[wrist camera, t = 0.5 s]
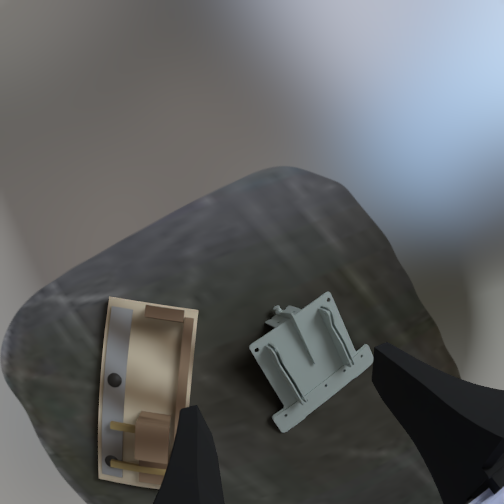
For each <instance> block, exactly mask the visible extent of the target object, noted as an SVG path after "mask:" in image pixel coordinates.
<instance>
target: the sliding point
mask: <svg viewBox="0 0 504 504" xmlns="http://www.w3.org/2000/svg"><path fill="white" fill-rule="evenodd" d="M170 419H171V415H166V414H159V413H152V412H145V411H141V413H140V415H139V417H138V419H137V421H136V425H132V424H126V423H121V422H115V421H111V422H110V429H114V430H119V431H124V432H130V433H135V457H134V459H136V460H142V461H149V462H156V463H163V464H167V462H168V451H169V435H170Z"/></svg>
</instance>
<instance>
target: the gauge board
mask: <svg viewBox="0 0 504 504" xmlns="http://www.w3.org/2000/svg"><path fill="white" fill-rule="evenodd" d="M197 319H198V310H194V309H187V308H179V307H172V306H166V305H159V304H152V303H146V302H139V301H133V300H127V299H121V298H115V297H110V296H109V303H108V310H107V318H106V326H105V334H104V343H103V353H102V364H101V377H100V393H99V417H98V471H99V479H103V480H108V481H112V482H117V483H123V484H128V485H134V486H140V487H146V488H153V489H160V486H161V483H162V481H163V478H164V475H165V472H166V469H167V466H168V463H169V459H170V456H171V452H172V448H173V444H174V440H175V436H176V431H177V426H178V420H179V413H180V410H181V409H182V408H186V407H189V400H190V389H191V378H192V367H193V357H194V347H195V337H196V328H197ZM141 411H145V412H152V413H159V414H166V415H171V419H170V435H169V451H168V462H167V464H163V463H156V462H149V461H142V460H136V459H134V457H135V433H130V432H124V431H119V430H114V429H110V422H111V421H115V422H121V423H126V424H132V425H136V421H137V419H138V417H139V415H140V413H141Z"/></svg>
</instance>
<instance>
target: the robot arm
mask: <svg viewBox="0 0 504 504" xmlns="http://www.w3.org/2000/svg"><path fill="white" fill-rule="evenodd" d="M372 382H373V384H374V386H375V388H376V389H377V391H378V393H379V395H380V396H381V398H382V400H383V401H384V403H385V404H386V405H387V407H388V408H389V409H390V411H391V412H392V413H393V415H394V416H395V417H396V419H397V420H398V421H399V423H400V424H401V425H402V426H403V428H404V429H405V430H406V432H407V433H408V434H409V436H410V437H411V439H412V440H413V442H414V443H415V445H416V447H417V449H418V450H419V452H420V454H421V456H422V457H423V459H424V461H425V463H426V465H427V467H428V469H429V471H430V473H431V475H432V477H433V479H434V482H435V484H436V486H437V488H438V491H439V493H440V496H441V498H442V501H443V503H444V504H504V390H498V389H493V388H489V387H484V386H480V385H476V384H473V383H470V382H467V381H464V380H462V379H459V378H456V377H454V376H451V375H449V374H447V373H444V372H442V371H440V370H438V369H436V368H434V367H432V366H430V365H428V364H426V363H424V362H422V361H420V360H418V359H416V358H415V357H413V356H411V355H409V354H407V353H406V352H404V351H402V350H400V349H399V348H397V347H395V346H393V345H392V344H390V343H388V342H386V343H383V344H381V345H379V346H376V347H374V359H373V372H372ZM153 504H225V503H224V497H223V491H222V484H221V477H220V470H219V463H218V456H217V452H216V448H215V445H214V441H213V437H212V433H211V432H210V430H209V428H208V426H207V424H206V422H205V420H204V418H203V416H202V414H201V412H200V410H199V408H198V406H197V405H195V406H191V407H186V408H182V409H181V410H180V413H179V420H178V426H177V431H176V436H175V440H174V444H173V448H172V452H171V456H170V459H169V463H168V466H167V469H166V472H165V475H164V478H163V481H162V483H161V486H160V489H159V491H158V493H157V496H156V498H155V500H154V502H153Z"/></svg>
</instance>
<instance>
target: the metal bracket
mask: <svg viewBox="0 0 504 504" xmlns="http://www.w3.org/2000/svg"><path fill="white" fill-rule="evenodd" d="M327 298H329V299H330V300H329V302H327ZM273 309H274V310H275V313H276V315H275V316H273V317H272V319H270V320H267V321H266V322H265V323H266V324H268V325H270V326H272V327H274V329H273V330H271V331H270V332H268V333H267V334H265V335H264V336H262V337H261V338H259V339H258V340H256V341H255V342H253V343H252V344H251V345H250V346H249V349H250V351H251V352H252V354H253V356H254V357H255V359H256V361H257V362H258V364H259V366H260V367H261V369H262V371H263V372H264V374H265V376H266V377H267V379H268V381H269V382H270V384H271V386H272V387H273V389H274V390H275V392H276V394H277V395H278V397H279V398H280V400H281V402H282V403H283V405H284V407H283V409H281V410H280V411H278V412H277V413H275V414H274V415H273V416H272V419H273V421H274V422H275V424H276V425H277V427H278V428H279V429H280V431H281V432H282V433H284V432H287V431H288V430H289V429H291V428H292V427H294V426H295V425H296V424H298V423H299V422H301V421H302V420H303V419H305V417H306V416H307V415H308V414H310V413H311V412H312V411H314V410H315V409H316V408H317V407H319V406H320V405H321V404H323V403H324V402H325V401H326V400H328V399H329V398H330V397H332V396H333V395H334V394H335V393H337V392H338V391H339V390H340V389H341V388H343V387H344V386H345V385H346V384H347V383H349V382H350V381H351V380H352V379H353V378H355V377H357V376H359V375H360V374H361V373H362V372H363V371H364V370H365V369H367V368H368V367H369V366H370V365H371V364H372V363H373V359H374V358H373V355H372V353H371V350H370V348H369V346H368V345H367V344H365V345H363V346H362V347H361V348H360V349H359V350H358V351H355V349H354V347H353V344H352V342H351V339H350V337H349V335H348V332H347V330H346V328H345V325H344V323H343V321H342V318H341V316H340V314H339V311H338V309H337V307H336V305H335V302H334V300H333V298H332V296H331V293H330V292H326V293H324V294H323V295H321V296H320V297H319V298H317V299H316V300H314V301H313V302H312V303H310V304H309V305H307V306H306V307H305V308H303V309H299V308H296V307H293V306H288V307H287V308H286V309H285V310H282V309H281V308H280V306H279V305H277V306H275V307H274V308H273ZM256 348H258V349H259V350H258V352H255V349H256ZM361 355H362V357H361ZM344 369H345V371H344V372H343V370H344ZM326 384H327V385H326ZM325 385H326V386H325ZM285 414H287V415H286V416H285Z"/></svg>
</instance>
